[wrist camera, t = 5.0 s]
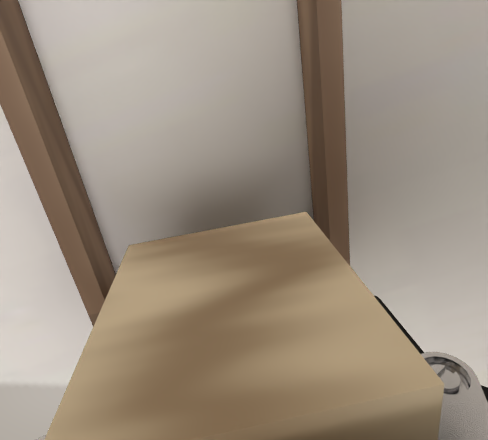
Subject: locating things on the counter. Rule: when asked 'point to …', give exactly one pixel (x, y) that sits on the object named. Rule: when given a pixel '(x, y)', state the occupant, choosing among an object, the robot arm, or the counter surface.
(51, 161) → the bay
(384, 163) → the counter surface
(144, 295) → the light wooden block
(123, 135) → the counter surface
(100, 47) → the counter surface
